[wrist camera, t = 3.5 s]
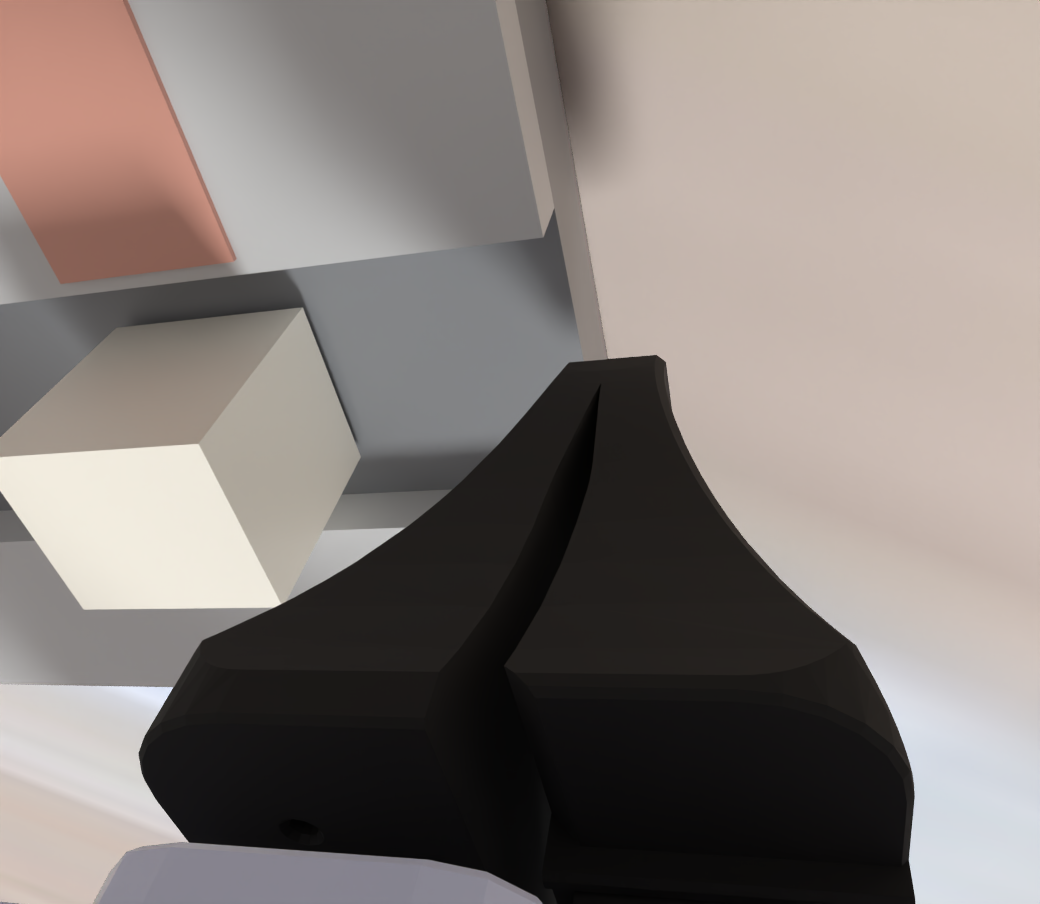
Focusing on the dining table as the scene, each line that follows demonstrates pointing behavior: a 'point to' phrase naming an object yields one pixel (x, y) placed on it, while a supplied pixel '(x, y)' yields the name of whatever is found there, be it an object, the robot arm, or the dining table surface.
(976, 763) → the dining table surface
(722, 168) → the dining table surface
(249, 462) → the switch
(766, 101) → the dining table surface
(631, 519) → the robot arm
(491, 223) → the breaker panel
